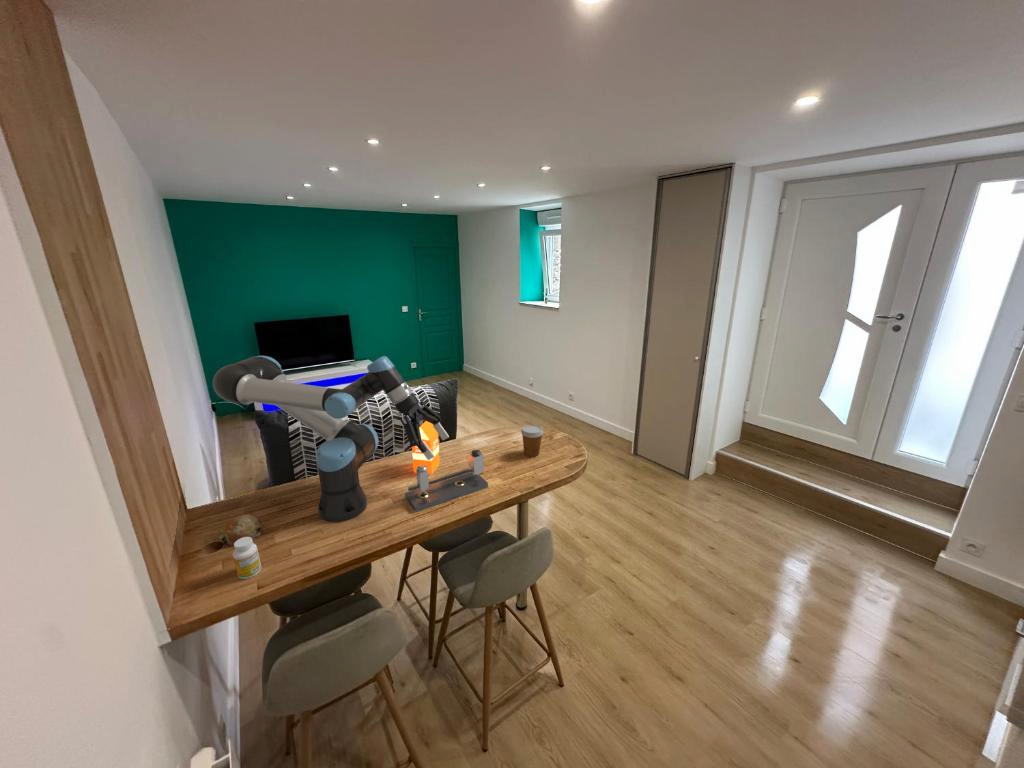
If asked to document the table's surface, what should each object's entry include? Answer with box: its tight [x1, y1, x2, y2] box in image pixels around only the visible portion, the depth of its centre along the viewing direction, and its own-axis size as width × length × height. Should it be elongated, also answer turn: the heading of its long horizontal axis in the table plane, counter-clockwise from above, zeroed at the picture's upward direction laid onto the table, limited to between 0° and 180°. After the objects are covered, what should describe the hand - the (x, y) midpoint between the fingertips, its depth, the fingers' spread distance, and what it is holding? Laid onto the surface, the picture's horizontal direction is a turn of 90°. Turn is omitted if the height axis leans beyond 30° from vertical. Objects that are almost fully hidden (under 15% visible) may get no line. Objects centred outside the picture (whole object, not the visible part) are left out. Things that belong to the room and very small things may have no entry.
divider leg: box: [468, 449, 485, 476], centre depth 147 cm, size 4×4×10 cm
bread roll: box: [219, 513, 263, 546], centre depth 119 cm, size 10×10×8 cm
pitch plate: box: [404, 465, 489, 513], centre depth 141 cm, size 28×10×13 cm, turn 124°
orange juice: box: [411, 420, 440, 475], centre depth 157 cm, size 8×9×20 cm
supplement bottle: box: [232, 537, 262, 580], centre depth 105 cm, size 5×5×10 cm
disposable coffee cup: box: [520, 424, 544, 458], centre depth 171 cm, size 10×10×12 cm
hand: (439, 448), depth 138 cm, fingers open, 13 cm apart
